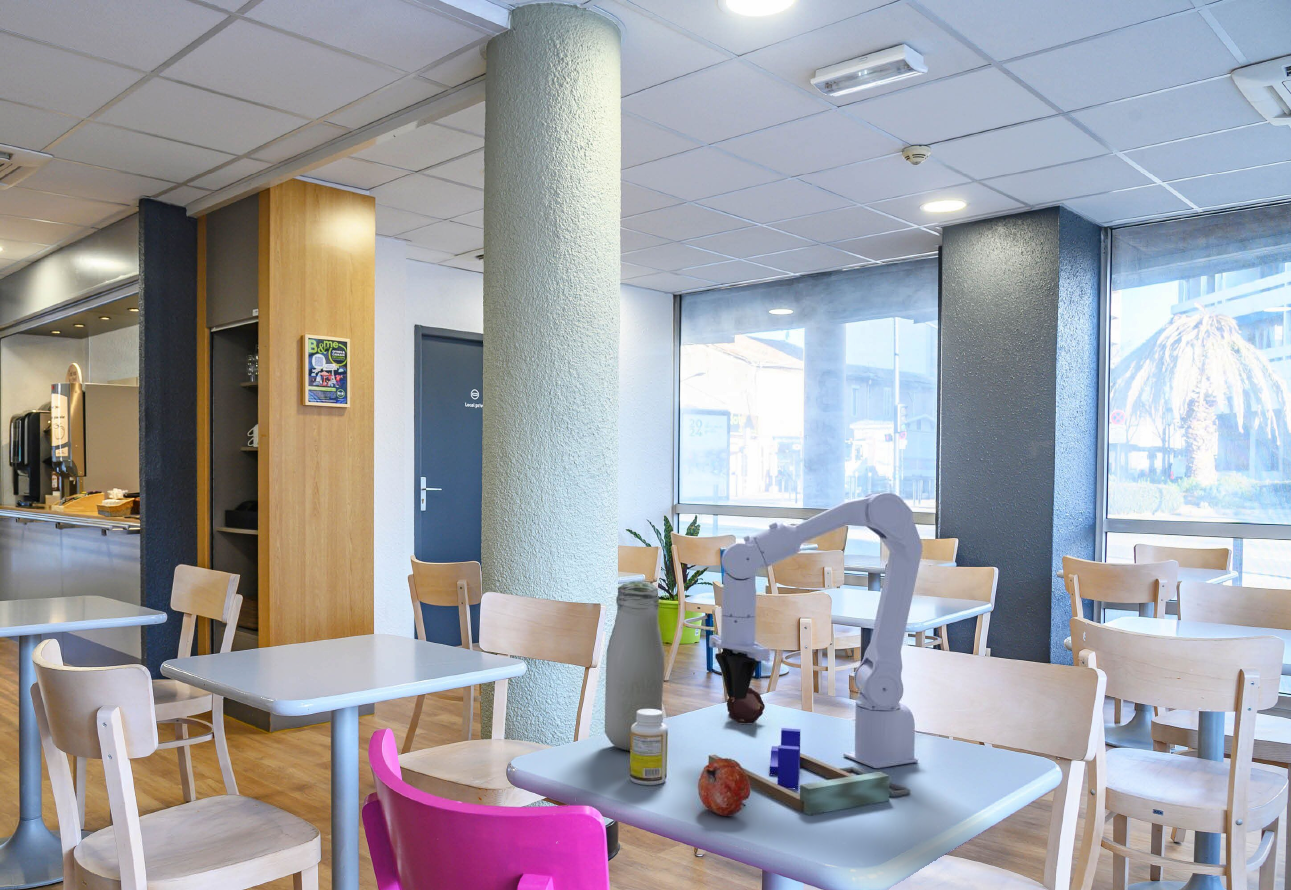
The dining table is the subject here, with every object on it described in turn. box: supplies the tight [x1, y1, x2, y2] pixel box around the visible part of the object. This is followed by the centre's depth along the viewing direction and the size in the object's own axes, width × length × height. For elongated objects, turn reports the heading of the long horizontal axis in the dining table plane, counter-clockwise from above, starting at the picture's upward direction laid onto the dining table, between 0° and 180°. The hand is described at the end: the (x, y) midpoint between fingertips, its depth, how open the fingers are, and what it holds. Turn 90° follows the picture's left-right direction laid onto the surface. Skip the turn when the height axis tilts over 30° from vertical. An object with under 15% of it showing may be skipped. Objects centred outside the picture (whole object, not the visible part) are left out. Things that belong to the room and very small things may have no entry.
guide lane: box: [707, 745, 890, 816], centre depth 139 cm, size 15×25×4 cm, turn 29°
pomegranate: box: [697, 757, 751, 817], centre depth 125 cm, size 7×7×10 cm
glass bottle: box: [604, 580, 666, 751], centre depth 155 cm, size 10×10×28 cm
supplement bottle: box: [629, 709, 669, 786], centre depth 138 cm, size 6×6×10 cm
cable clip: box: [769, 727, 801, 790], centre depth 142 cm, size 12×4×6 cm, turn 169°
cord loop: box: [839, 766, 911, 798], centre depth 139 cm, size 4×13×1 cm, turn 29°
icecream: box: [726, 687, 766, 724], centre depth 174 cm, size 7×7×15 cm
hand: (736, 697), depth 153 cm, fingers closed
